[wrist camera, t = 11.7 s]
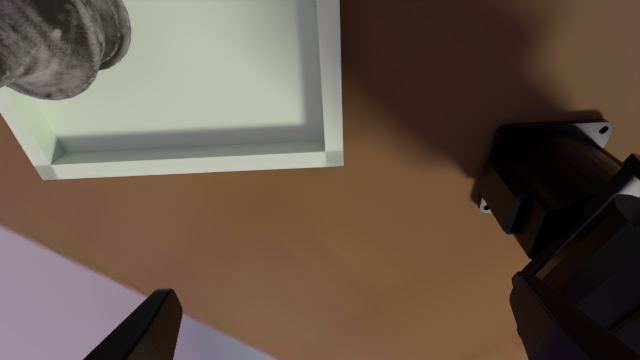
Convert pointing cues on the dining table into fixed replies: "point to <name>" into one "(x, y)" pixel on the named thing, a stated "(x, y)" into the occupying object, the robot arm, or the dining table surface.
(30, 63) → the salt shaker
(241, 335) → the dining table surface
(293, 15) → the tray
